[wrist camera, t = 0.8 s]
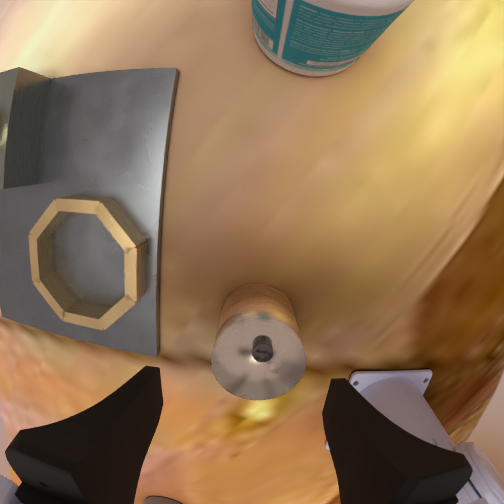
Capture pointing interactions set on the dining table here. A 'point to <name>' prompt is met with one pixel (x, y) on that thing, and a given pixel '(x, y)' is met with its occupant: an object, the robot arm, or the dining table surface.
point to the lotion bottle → (159, 500)
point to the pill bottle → (320, 31)
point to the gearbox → (85, 202)
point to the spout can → (258, 344)
